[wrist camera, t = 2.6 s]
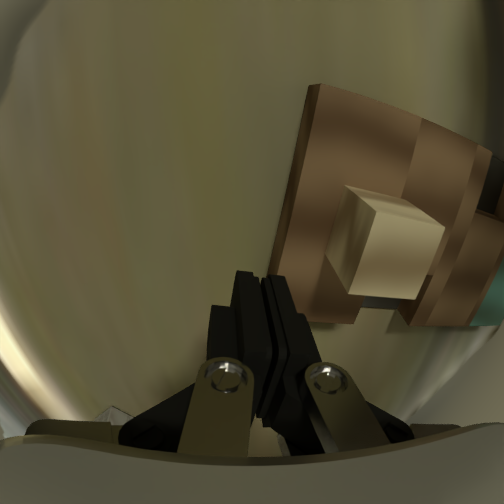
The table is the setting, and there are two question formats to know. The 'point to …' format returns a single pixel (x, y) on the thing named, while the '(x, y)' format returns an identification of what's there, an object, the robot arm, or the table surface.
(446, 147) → the trap board
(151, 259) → the table surface
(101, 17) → the table surface
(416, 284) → the birch block
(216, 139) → the table surface
